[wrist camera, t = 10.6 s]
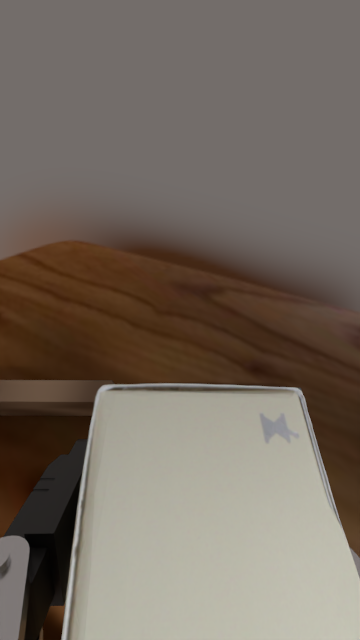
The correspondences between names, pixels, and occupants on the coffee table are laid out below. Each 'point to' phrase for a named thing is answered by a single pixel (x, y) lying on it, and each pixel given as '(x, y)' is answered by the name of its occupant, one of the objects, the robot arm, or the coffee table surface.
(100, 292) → the coffee table surface
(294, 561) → the skincare box
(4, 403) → the frame
